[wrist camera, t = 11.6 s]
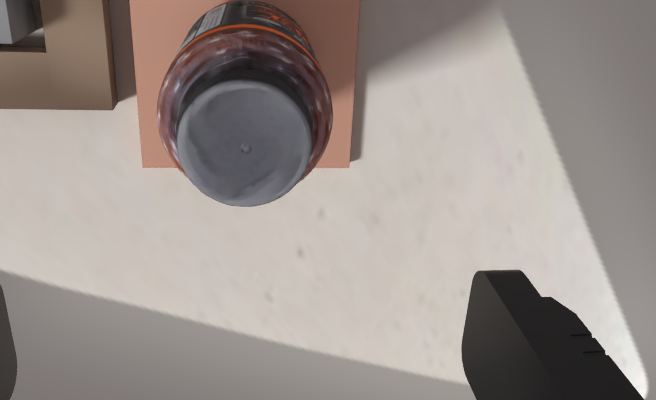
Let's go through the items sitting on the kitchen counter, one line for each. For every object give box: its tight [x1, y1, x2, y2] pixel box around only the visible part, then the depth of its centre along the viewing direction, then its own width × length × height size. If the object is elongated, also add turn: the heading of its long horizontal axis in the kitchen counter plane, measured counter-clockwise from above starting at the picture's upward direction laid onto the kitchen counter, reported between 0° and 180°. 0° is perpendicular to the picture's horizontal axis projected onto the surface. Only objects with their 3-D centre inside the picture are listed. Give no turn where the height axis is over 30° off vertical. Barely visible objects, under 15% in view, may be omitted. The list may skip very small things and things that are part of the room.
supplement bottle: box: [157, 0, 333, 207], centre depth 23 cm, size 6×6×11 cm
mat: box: [129, 0, 360, 168], centre depth 29 cm, size 10×10×1 cm
